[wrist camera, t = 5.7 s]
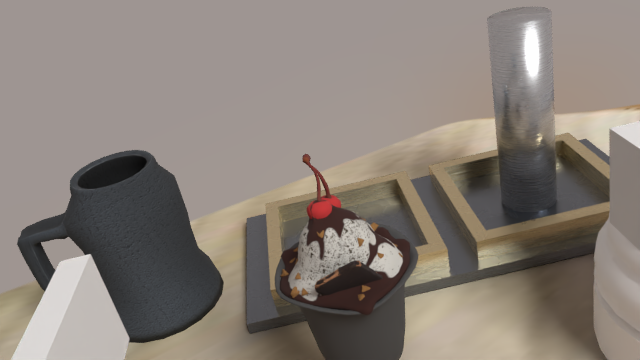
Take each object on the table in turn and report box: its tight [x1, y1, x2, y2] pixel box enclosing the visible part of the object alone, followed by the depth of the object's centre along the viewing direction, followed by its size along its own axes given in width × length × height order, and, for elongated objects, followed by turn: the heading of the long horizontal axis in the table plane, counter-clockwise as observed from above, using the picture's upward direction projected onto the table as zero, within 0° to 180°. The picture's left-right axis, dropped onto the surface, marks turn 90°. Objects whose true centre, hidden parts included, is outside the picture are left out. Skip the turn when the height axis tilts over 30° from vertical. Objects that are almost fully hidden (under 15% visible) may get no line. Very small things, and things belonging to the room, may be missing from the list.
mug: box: [17, 150, 223, 343], centre depth 44 cm, size 12×9×11 cm
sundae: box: [275, 154, 419, 360], centre depth 29 cm, size 7×7×15 cm
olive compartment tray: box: [247, 7, 610, 333], centre depth 44 cm, size 30×14×15 cm, turn 96°
